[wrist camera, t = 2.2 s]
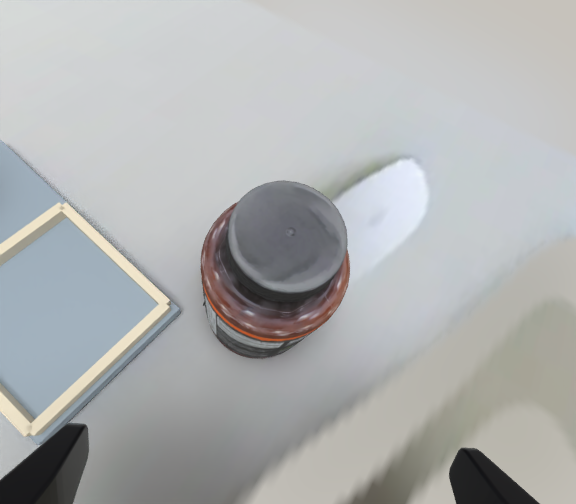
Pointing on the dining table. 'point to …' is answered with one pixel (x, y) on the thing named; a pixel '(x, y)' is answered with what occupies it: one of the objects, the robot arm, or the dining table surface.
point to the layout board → (63, 305)
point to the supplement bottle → (274, 268)
